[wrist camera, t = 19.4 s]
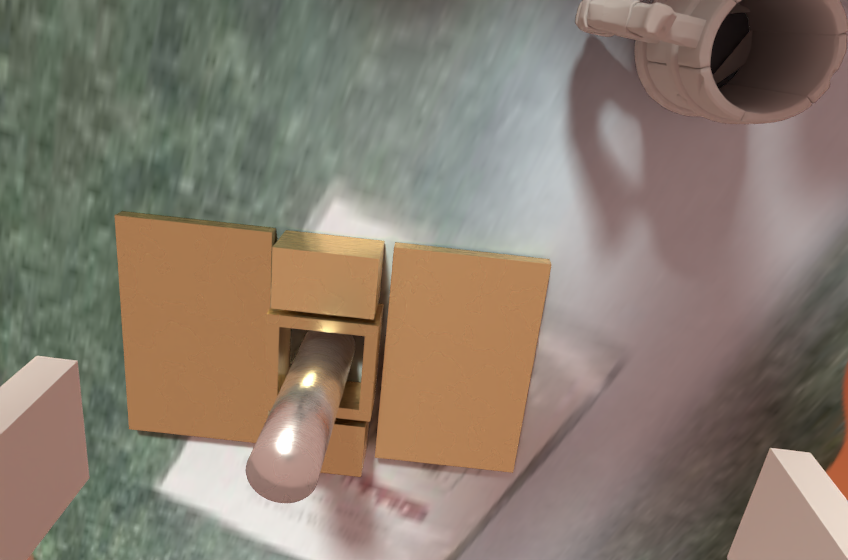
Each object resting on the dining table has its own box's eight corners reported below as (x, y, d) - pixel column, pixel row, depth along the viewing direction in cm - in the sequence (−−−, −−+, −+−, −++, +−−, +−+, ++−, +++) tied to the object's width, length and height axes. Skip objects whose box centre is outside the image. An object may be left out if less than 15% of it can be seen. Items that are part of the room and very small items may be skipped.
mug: (734, 125, 40) (846, 165, 28) (543, 80, 39) (580, 103, 28) (787, -11, 37) (933, -26, 26) (582, -62, 36) (640, -99, 25)
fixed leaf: (121, 211, 43) (94, 226, 40) (389, 240, 43) (384, 258, 40) (135, 421, 49) (112, 449, 46) (371, 447, 49) (365, 477, 46)
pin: (304, 319, 45) (246, 439, 32) (356, 325, 45) (319, 447, 32) (302, 365, 47) (245, 499, 34) (353, 371, 47) (316, 506, 34)
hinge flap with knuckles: (285, 230, 43) (272, 247, 40) (549, 259, 43) (557, 278, 40) (279, 438, 49) (267, 468, 45) (511, 463, 49) (516, 495, 45)
